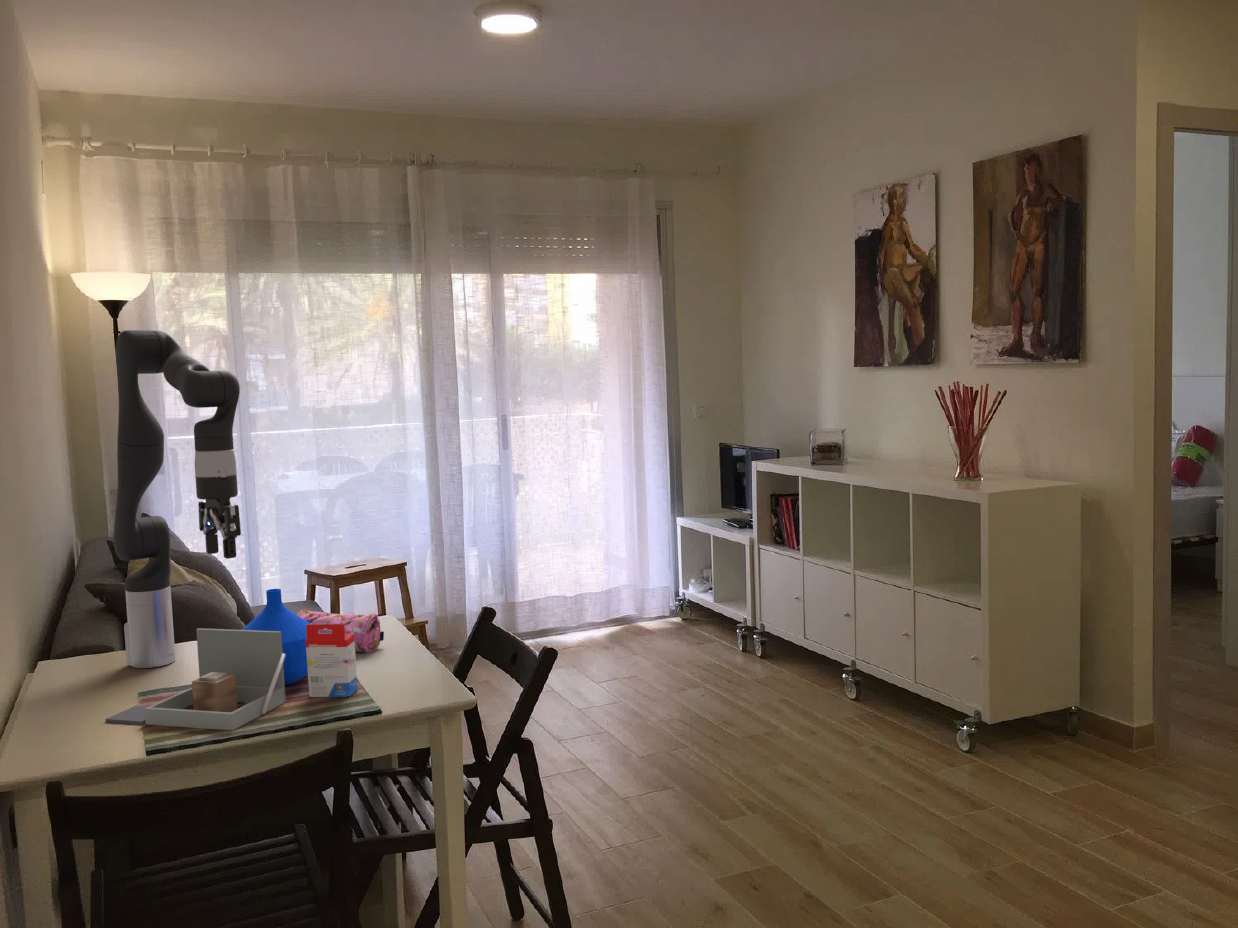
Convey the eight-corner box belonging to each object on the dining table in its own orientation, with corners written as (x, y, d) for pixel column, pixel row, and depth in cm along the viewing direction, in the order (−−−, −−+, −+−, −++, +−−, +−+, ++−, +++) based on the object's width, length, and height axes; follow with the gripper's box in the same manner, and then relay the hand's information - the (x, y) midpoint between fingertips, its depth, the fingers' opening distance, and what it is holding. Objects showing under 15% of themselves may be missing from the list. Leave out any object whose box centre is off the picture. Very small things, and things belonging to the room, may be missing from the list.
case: (145, 724, 189) (140, 649, 188) (203, 697, 204) (199, 628, 203) (236, 730, 184) (232, 653, 182) (289, 702, 199) (285, 631, 198)
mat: (105, 721, 191) (105, 718, 191) (136, 708, 198) (135, 705, 198) (141, 724, 189) (141, 721, 189) (171, 710, 196) (171, 707, 196)
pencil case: (388, 646, 241) (386, 609, 240) (367, 656, 232) (364, 618, 231) (309, 642, 247) (307, 606, 246) (286, 652, 238) (283, 614, 238)
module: (194, 717, 192) (191, 678, 191) (213, 708, 197) (210, 670, 196) (219, 719, 190) (217, 680, 190) (237, 710, 196) (235, 671, 195)
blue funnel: (215, 682, 214) (210, 592, 213) (294, 662, 228) (289, 578, 226) (261, 698, 202) (256, 603, 201) (341, 676, 216) (336, 587, 214)
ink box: (358, 690, 206) (354, 618, 205) (349, 697, 201) (345, 624, 200) (317, 690, 207) (313, 618, 206) (307, 697, 202) (303, 624, 201)
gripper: (182, 473, 202) (188, 554, 204) (211, 476, 192) (216, 562, 193) (220, 470, 207) (225, 549, 209) (250, 473, 197) (255, 556, 198)
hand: (221, 555), depth 201 cm, fingers open, 8 cm apart
